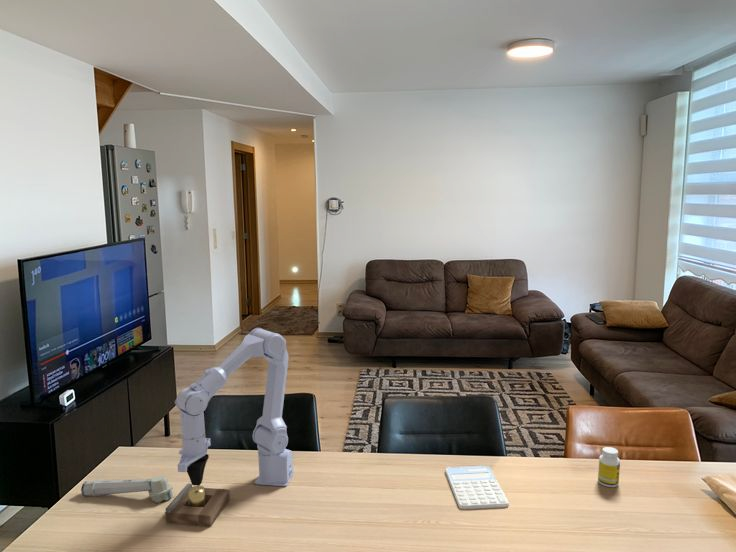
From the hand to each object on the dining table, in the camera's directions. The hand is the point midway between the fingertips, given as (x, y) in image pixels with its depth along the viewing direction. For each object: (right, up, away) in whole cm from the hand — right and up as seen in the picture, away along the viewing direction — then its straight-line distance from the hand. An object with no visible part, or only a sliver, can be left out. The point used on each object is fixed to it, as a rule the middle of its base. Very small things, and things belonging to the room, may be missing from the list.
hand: (196, 484), depth 143 cm
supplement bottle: (+112, -4, +12) cm, 113 cm away
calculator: (+74, -6, +10) cm, 75 cm away
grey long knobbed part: (-22, -7, +9) cm, 24 cm away
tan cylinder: (0, -8, +1) cm, 8 cm away
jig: (0, -8, +1) cm, 8 cm away
